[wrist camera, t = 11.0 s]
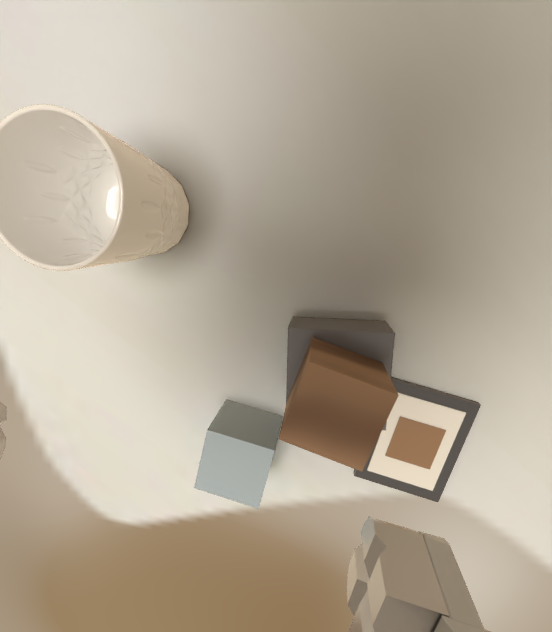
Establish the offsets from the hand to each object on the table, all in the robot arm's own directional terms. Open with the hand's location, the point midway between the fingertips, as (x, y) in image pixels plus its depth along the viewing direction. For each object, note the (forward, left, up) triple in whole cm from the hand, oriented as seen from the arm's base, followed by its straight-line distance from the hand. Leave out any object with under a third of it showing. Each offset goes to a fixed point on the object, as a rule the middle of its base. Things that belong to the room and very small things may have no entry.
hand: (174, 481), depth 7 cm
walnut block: (+3, +5, -16) cm, 17 cm away
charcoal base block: (+3, +5, -20) cm, 21 cm away
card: (+7, +13, -20) cm, 25 cm away
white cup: (-5, -12, -20) cm, 24 cm away
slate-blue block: (+11, 0, -20) cm, 23 cm away
